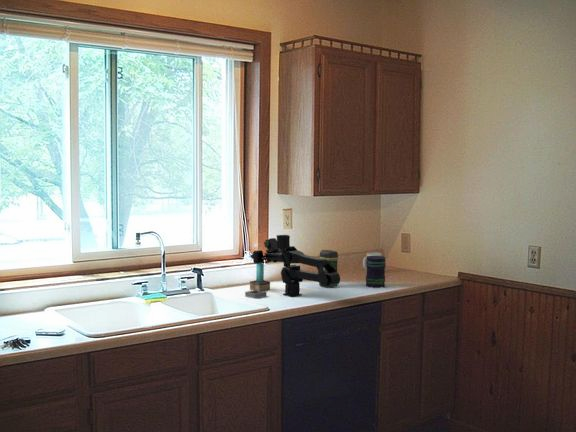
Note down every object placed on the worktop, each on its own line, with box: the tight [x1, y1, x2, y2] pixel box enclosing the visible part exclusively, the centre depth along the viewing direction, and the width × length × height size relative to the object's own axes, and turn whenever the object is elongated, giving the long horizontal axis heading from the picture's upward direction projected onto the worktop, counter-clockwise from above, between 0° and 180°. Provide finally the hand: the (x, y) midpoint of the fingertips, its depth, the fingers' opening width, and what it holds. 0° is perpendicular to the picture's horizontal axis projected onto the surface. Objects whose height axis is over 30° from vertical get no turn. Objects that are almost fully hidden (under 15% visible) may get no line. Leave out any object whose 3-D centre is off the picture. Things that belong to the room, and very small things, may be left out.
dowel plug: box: [255, 262, 265, 283], centre depth 317 cm, size 4×4×10 cm
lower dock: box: [244, 290, 267, 299], centre depth 302 cm, size 7×7×2 cm
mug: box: [362, 252, 382, 272], centre depth 374 cm, size 12×8×11 cm
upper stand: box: [249, 279, 271, 292], centre depth 318 cm, size 7×7×4 cm
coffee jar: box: [318, 249, 339, 288], centre depth 329 cm, size 10×8×19 cm
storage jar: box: [365, 255, 387, 289], centre depth 331 cm, size 10×10×15 cm
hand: (257, 255), depth 322 cm, fingers open, 9 cm apart
